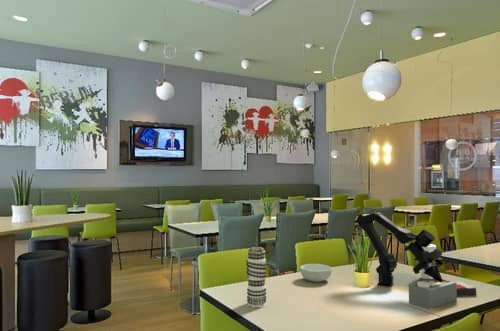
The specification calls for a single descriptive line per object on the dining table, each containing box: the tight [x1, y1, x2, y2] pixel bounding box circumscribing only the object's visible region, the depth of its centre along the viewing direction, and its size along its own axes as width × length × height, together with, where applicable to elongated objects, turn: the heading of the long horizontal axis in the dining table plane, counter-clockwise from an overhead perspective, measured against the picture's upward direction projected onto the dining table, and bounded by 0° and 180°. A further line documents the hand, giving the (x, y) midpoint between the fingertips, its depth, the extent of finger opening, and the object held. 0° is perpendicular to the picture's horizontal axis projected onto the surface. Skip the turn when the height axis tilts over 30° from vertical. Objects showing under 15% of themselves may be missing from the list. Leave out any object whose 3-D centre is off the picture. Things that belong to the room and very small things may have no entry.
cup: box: [419, 243, 437, 280], centre depth 216 cm, size 11×11×18 cm
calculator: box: [455, 281, 477, 297], centre depth 189 cm, size 11×4×15 cm
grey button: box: [416, 280, 430, 289], centre depth 172 cm, size 5×5×3 cm
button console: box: [408, 278, 458, 310], centre depth 176 cm, size 10×21×8 cm, turn 123°
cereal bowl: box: [299, 263, 333, 283], centre depth 212 cm, size 17×17×7 cm
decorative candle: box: [245, 246, 268, 308], centre depth 173 cm, size 9×9×25 cm
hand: (441, 281), depth 180 cm, fingers closed, pressing on orange button
